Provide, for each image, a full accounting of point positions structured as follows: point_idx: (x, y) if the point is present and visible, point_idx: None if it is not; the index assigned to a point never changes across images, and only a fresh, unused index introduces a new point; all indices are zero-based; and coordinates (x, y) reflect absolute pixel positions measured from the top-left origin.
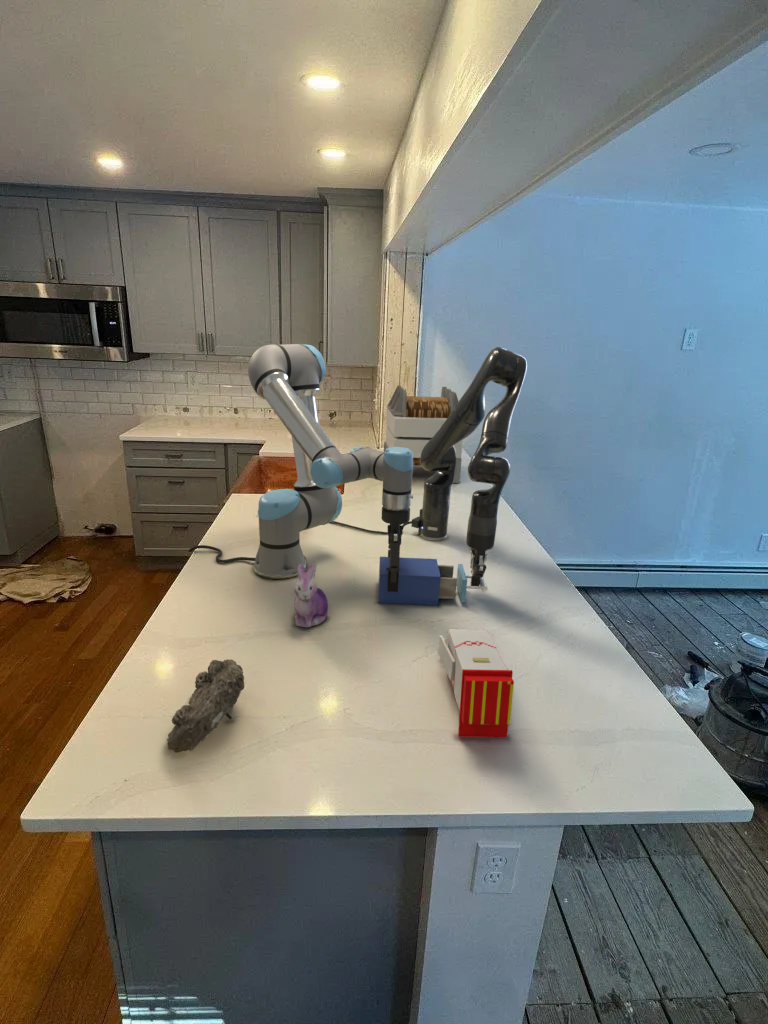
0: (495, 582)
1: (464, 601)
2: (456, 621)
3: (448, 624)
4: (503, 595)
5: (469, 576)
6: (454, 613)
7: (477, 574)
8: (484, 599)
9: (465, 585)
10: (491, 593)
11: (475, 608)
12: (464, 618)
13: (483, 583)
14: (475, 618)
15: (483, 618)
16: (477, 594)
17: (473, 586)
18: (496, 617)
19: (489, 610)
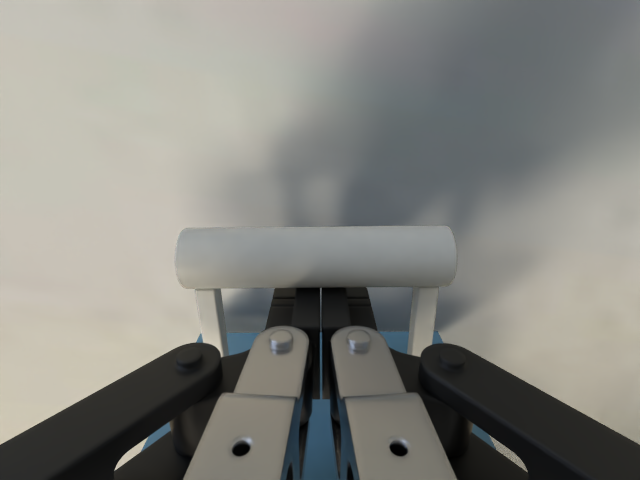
0: (38, 44)
1: (438, 335)
2: (605, 373)
3: (625, 408)
4: (272, 14)
5: (222, 352)
6: (521, 375)
7: (471, 431)
8: (352, 187)
9: (487, 440)
10: (251, 117)
11: (475, 262)
12: (582, 334)
13: (404, 272)
14: (595, 278)
15: (605, 232)
16: (282, 224)
17: (423, 346)
18: (611, 143)
19: (509, 177)
